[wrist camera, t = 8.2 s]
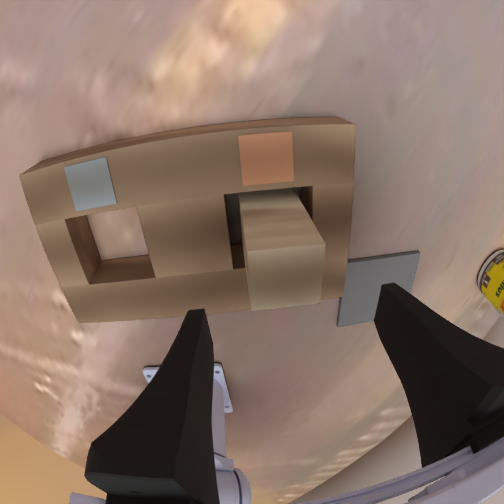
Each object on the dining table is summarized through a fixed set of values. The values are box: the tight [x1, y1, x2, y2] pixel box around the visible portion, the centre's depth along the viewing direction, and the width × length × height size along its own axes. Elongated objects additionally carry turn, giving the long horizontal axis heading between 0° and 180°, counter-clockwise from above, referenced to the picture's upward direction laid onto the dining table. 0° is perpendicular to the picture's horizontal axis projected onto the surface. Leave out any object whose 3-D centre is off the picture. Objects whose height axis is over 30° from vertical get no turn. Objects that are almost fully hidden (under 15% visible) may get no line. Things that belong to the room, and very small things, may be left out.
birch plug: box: [238, 188, 326, 311], centre depth 18 cm, size 3×3×8 cm
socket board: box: [19, 117, 355, 323], centre depth 20 cm, size 12×20×3 cm, turn 94°
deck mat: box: [337, 251, 420, 327], centre depth 26 cm, size 7×7×1 cm
